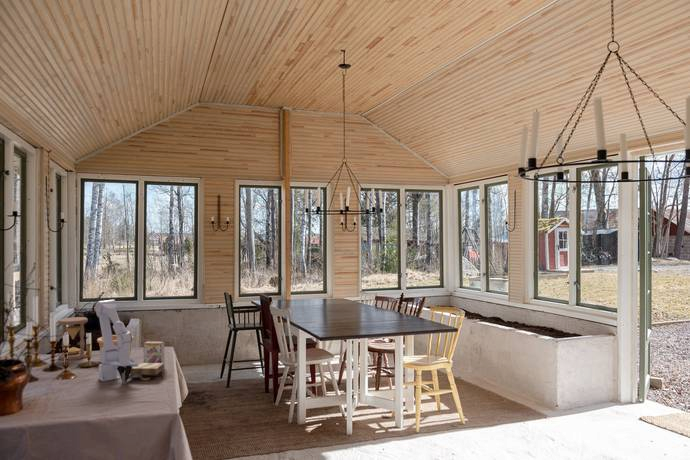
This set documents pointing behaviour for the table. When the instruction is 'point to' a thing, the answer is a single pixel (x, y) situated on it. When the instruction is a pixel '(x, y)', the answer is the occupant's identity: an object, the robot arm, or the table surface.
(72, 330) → the hourglass
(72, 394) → the table surface
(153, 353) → the candy bar box
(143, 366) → the tan cardboard box
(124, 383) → the grey t-shaped piece
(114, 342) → the pottery
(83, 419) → the table surface
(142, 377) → the brass disc
